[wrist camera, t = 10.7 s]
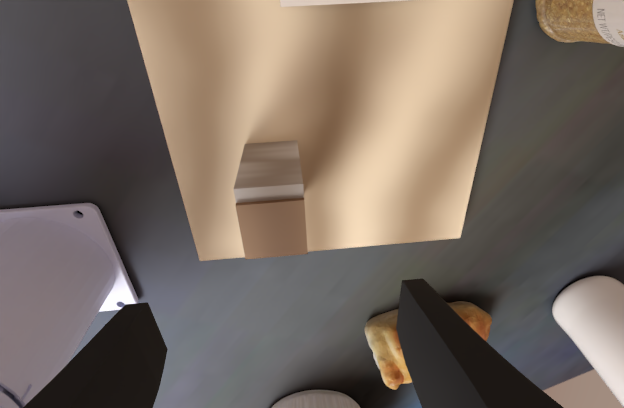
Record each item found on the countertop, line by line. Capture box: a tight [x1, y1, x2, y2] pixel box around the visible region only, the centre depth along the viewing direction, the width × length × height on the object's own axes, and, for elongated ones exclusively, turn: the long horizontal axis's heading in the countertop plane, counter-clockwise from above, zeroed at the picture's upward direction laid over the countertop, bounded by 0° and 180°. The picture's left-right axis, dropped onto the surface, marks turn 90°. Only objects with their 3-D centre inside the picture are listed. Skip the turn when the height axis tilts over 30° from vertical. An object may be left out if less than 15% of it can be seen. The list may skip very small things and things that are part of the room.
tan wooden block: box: [234, 140, 308, 259], centre depth 15 cm, size 3×3×5 cm
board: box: [127, 0, 514, 261], centre depth 16 cm, size 16×20×1 cm
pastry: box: [365, 301, 492, 390], centre depth 25 cm, size 9×7×4 cm
